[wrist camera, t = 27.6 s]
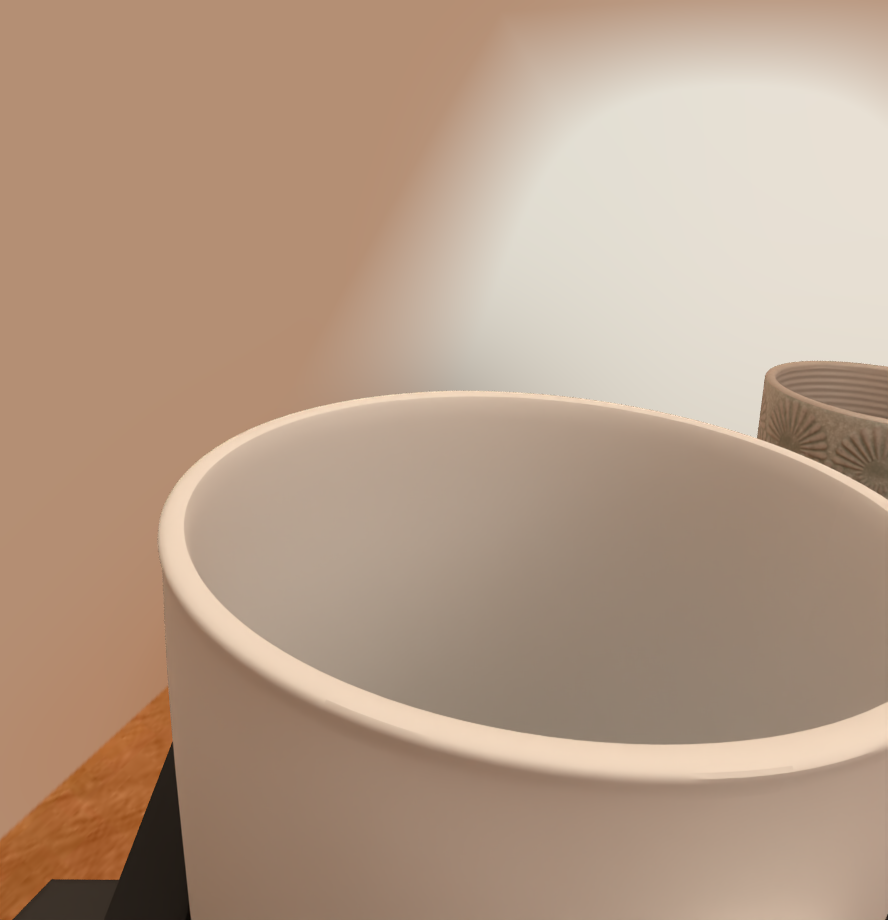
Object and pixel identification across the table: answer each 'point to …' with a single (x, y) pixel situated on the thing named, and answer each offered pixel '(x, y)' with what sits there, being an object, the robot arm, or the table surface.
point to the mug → (525, 668)
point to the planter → (830, 416)
